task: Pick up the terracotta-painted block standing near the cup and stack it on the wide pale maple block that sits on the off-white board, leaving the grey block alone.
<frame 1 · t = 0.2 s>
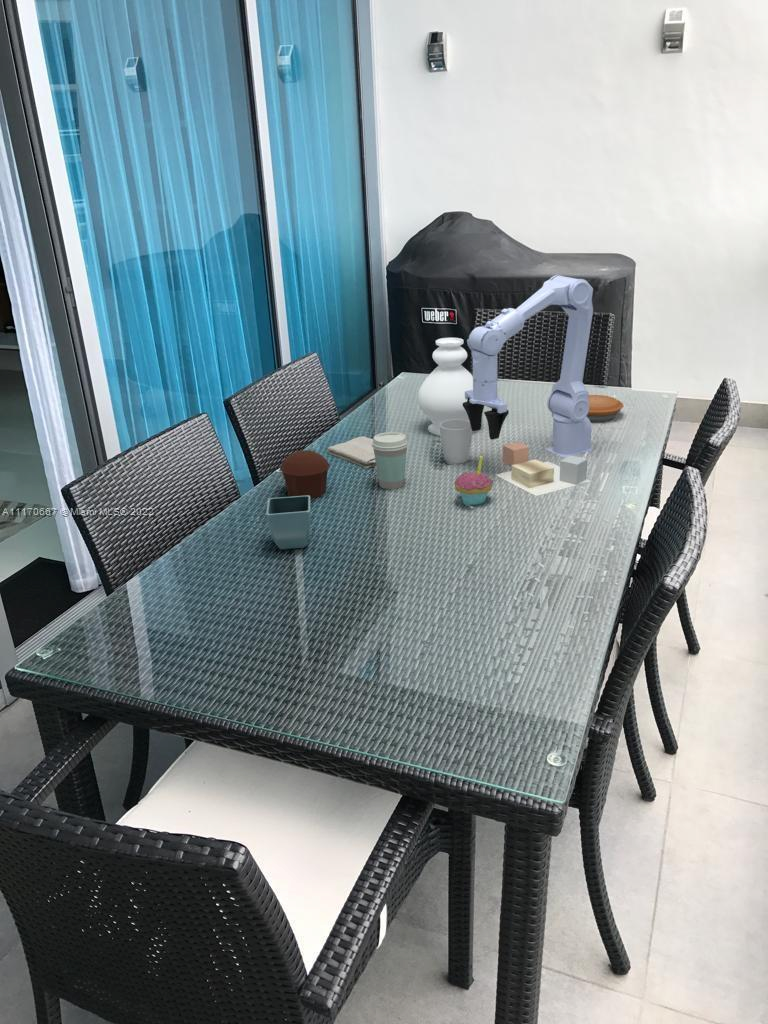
hand: (485, 434, 210), 10 cm above the table, tool pointing down, fingers open, 7 cm apart
washcloth: (364, 458, 229), on the table
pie: (594, 416, 251), on the table
decorative vase: (450, 429, 246), on the table
coffee cup: (391, 485, 209), on the table
terracotta block: (515, 465, 218), on the table
cup: (456, 462, 221), on the table
grey block: (572, 479, 205), point 1 cm above the table, touching board
cupcake: (473, 503, 197), on the table
flower pot: (292, 544, 181), on the table
muffin: (307, 493, 207), on the table
maple block: (532, 480, 206), point 1 cm above the table, touching board
board: (542, 480, 208), on the table
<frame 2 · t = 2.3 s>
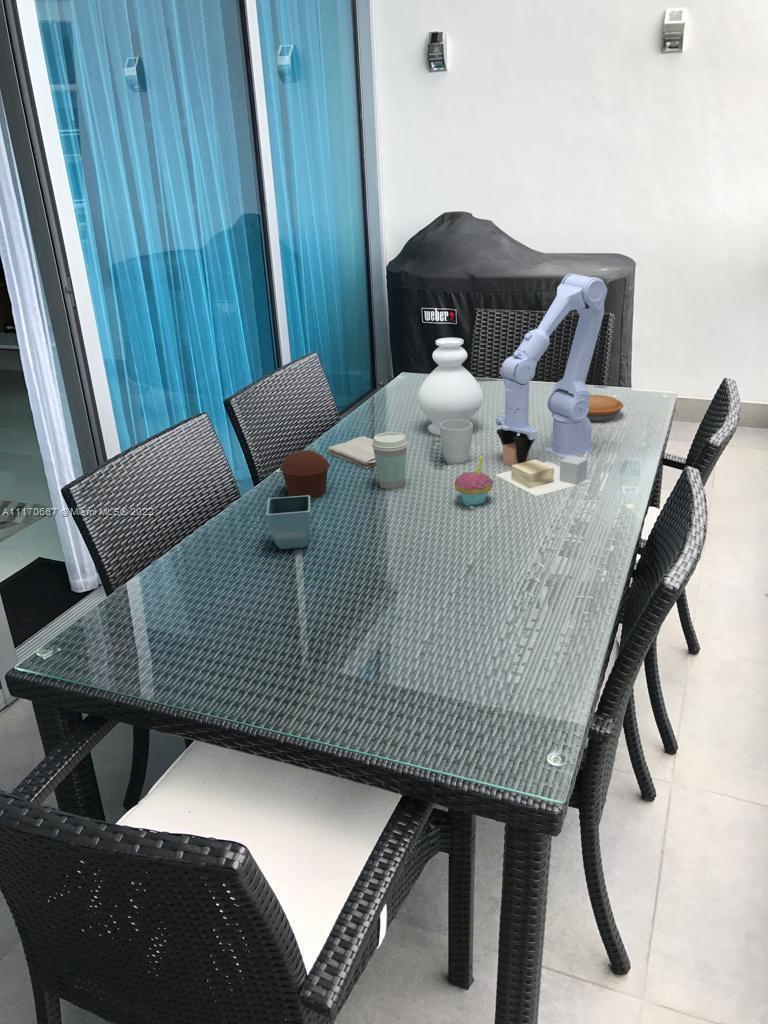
hand: (515, 459, 217), 1 cm above the table, tool pointing down, fingers closed on terracotta block, 4 cm apart
terracotta block: (515, 464, 218), on the table, touching gripper
everything else where it was.
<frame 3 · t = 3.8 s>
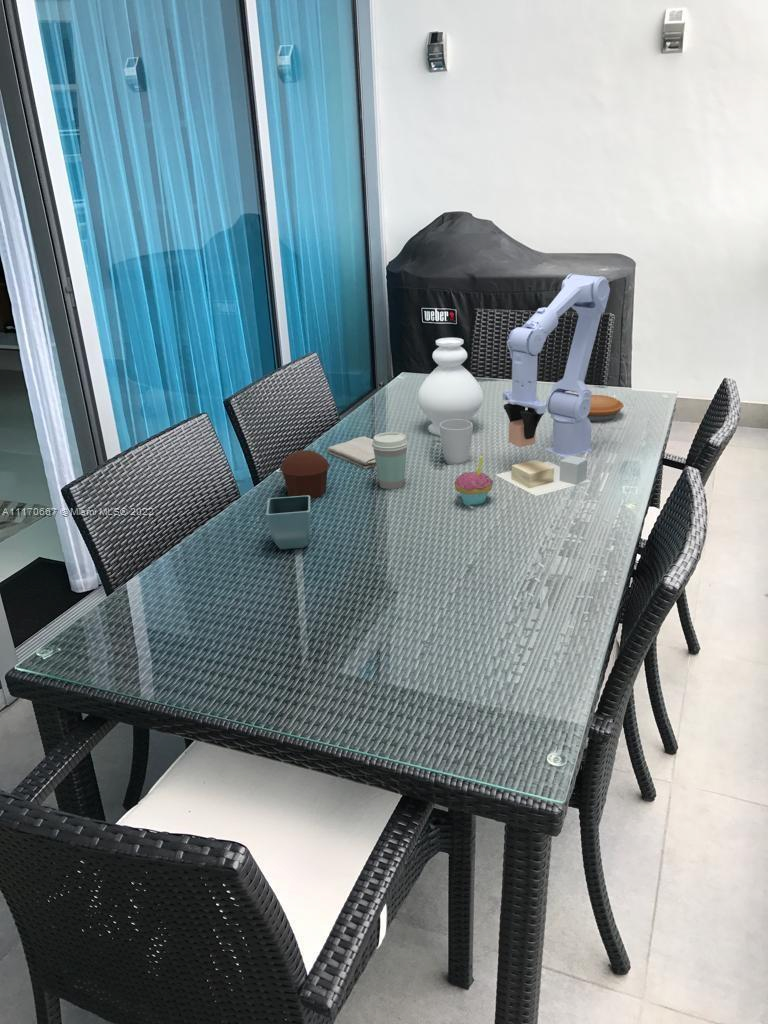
hand: (522, 435, 209), 9 cm above the table, tool pointing down, fingers closed on terracotta block, 4 cm apart
terracotta block: (521, 442, 210), point 8 cm above the table, touching gripper
everything else where it was.
when the fingers open (6 cm above the table, at t = 5.6 s): terracotta block stays where it is, resting on maple block.
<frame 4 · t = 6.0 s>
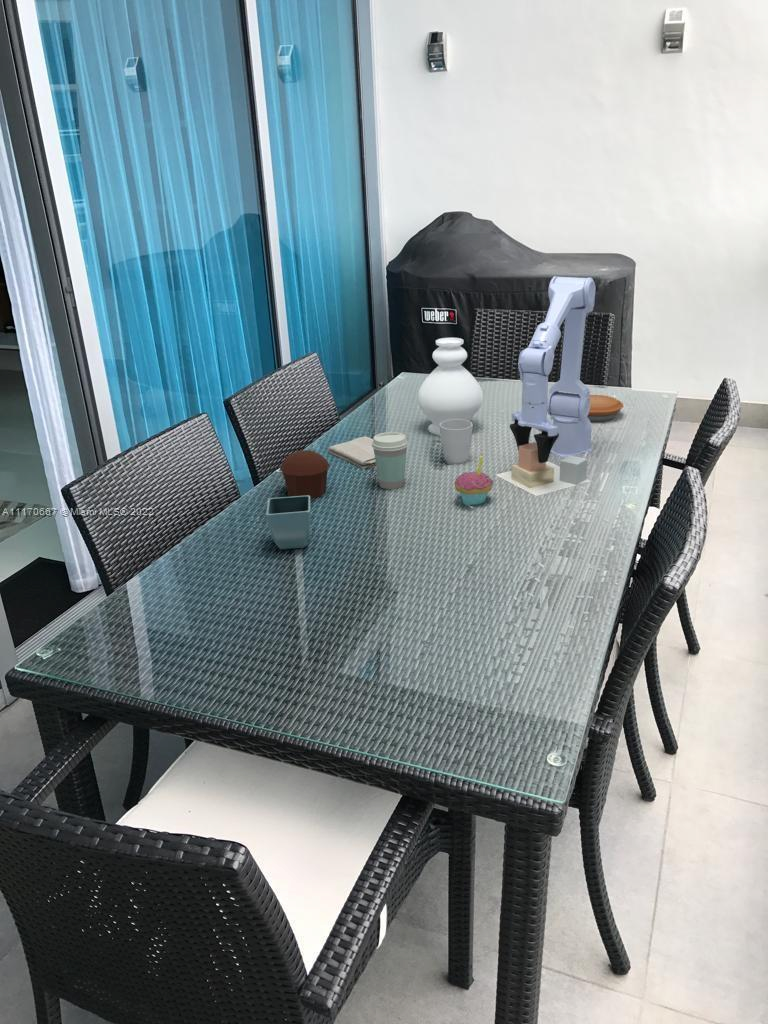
hand: (533, 457, 204), 6 cm above the table, tool pointing down, fingers open, 7 cm apart
terracotta block: (531, 466, 205), point 4 cm above the table, touching maple block
maple block: (532, 480, 206), point 1 cm above the table, touching board, terracotta block
everything else where it was.
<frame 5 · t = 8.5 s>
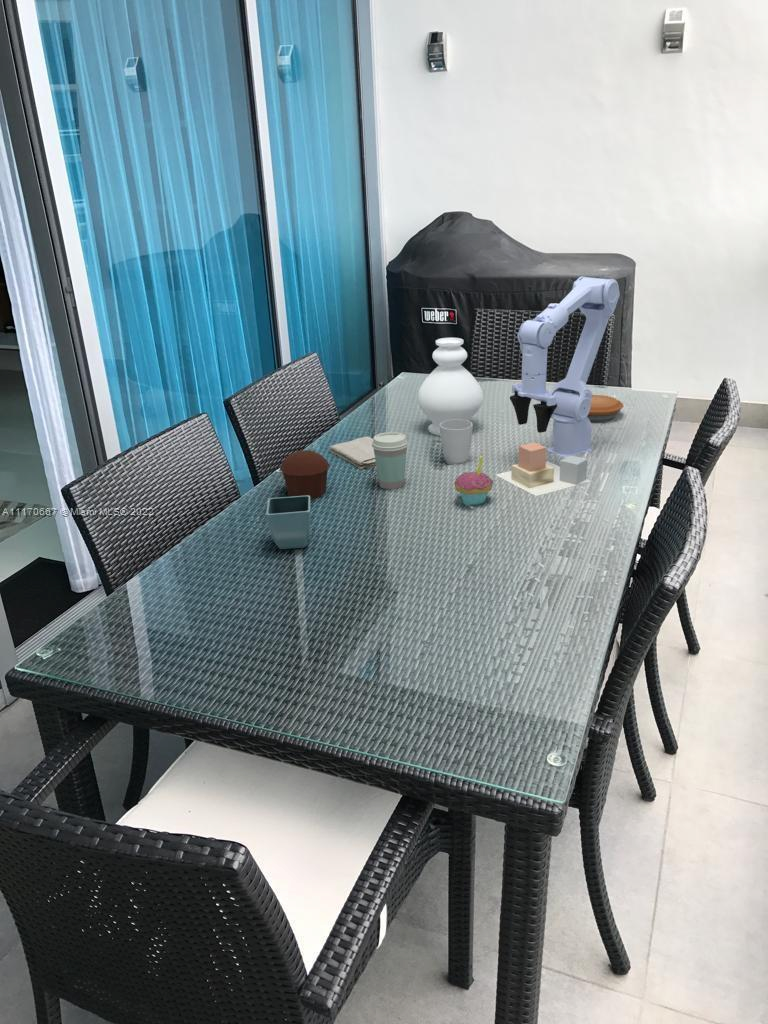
hand: (532, 427, 211), 10 cm above the table, tool pointing down, fingers open, 7 cm apart
nothing on the table moved.
at the end: terracotta block 0.3 cm off-centre on the maple block, point 3.5 cm above the maple block's base; terracotta block tilted 0°; the gripper is holding nothing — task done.
